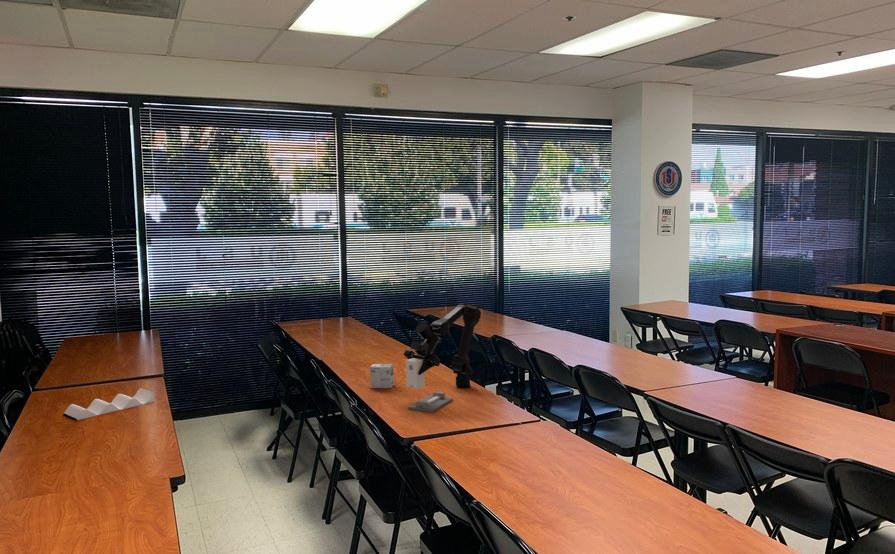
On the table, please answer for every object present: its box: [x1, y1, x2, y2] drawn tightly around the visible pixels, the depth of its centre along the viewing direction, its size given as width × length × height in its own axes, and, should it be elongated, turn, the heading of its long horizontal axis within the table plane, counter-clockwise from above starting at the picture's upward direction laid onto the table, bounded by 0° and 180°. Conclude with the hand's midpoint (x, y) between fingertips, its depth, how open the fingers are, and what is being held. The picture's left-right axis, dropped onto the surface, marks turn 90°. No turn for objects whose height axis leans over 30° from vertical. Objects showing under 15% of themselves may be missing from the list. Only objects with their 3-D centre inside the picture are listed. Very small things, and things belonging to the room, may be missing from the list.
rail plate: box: [407, 391, 454, 413], centre depth 299 cm, size 20×12×3 cm, turn 153°
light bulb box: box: [369, 363, 395, 389], centre depth 331 cm, size 11×7×11 cm, turn 84°
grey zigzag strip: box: [62, 387, 155, 422], centre depth 300 cm, size 13×35×5 cm, turn 141°
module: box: [405, 358, 425, 390], centre depth 302 cm, size 6×6×12 cm
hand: (413, 373), depth 302 cm, fingers closed on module, 6 cm apart
